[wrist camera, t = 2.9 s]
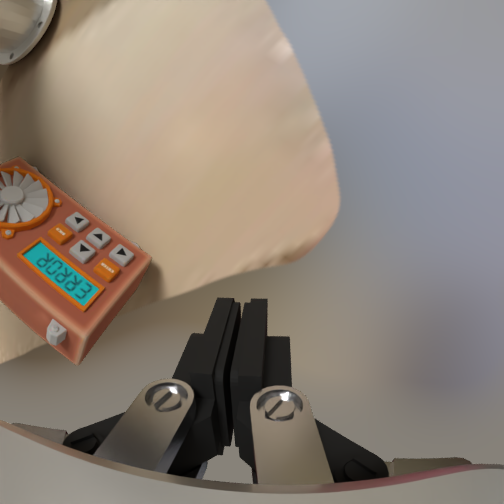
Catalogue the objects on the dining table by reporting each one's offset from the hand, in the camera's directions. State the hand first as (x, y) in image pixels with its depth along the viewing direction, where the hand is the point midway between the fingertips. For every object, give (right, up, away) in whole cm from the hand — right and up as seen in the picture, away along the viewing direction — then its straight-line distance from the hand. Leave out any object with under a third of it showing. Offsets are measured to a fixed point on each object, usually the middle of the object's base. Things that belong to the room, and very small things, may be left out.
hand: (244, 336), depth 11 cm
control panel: (-20, +7, +22) cm, 30 cm away
